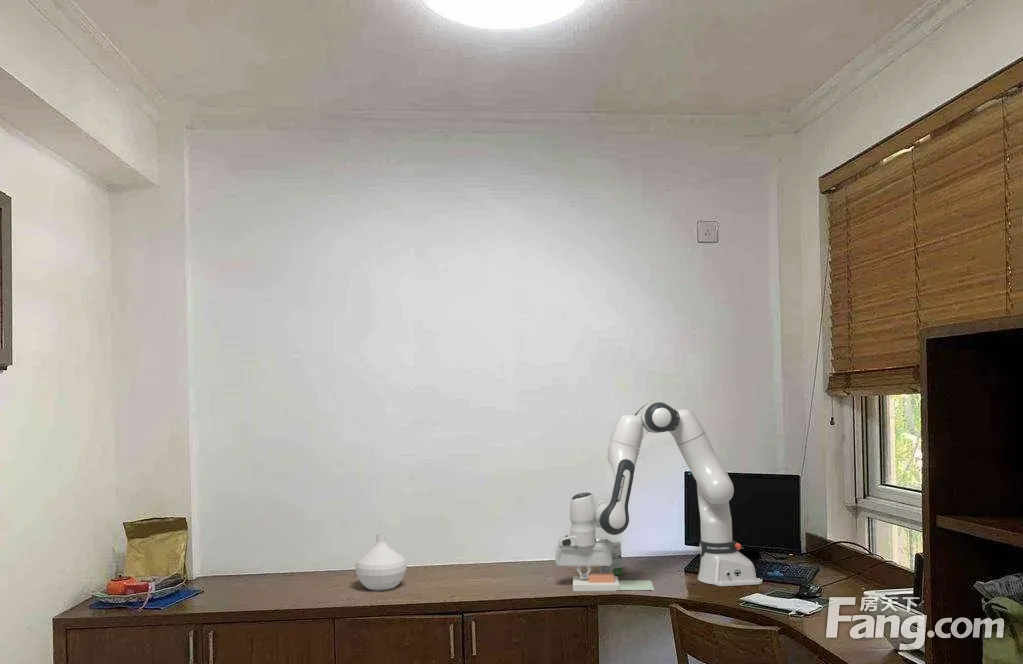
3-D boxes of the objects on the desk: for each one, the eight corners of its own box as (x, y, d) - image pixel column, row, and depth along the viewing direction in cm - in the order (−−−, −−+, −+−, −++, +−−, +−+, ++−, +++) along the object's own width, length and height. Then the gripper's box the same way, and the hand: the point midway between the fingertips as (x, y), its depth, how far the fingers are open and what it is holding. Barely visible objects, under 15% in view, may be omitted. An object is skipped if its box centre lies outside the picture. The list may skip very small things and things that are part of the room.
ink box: (622, 571, 328) (621, 540, 328) (622, 575, 323) (621, 542, 323) (598, 571, 329) (598, 540, 329) (598, 575, 324) (598, 543, 324)
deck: (617, 581, 313) (617, 576, 313) (619, 590, 300) (619, 585, 300) (573, 581, 314) (572, 576, 314) (573, 591, 301) (572, 585, 301)
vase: (380, 578, 325) (380, 527, 326) (417, 584, 315) (416, 531, 316) (344, 589, 310) (344, 535, 311) (382, 596, 300) (381, 540, 301)
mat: (651, 581, 312) (650, 580, 312) (654, 590, 299) (654, 589, 299) (617, 581, 313) (617, 580, 313) (619, 590, 300) (619, 589, 300)
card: (613, 578, 310) (613, 572, 310) (614, 582, 304) (614, 576, 304) (588, 578, 310) (588, 572, 310) (588, 582, 304) (588, 576, 304)
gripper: (612, 537, 311) (613, 576, 310) (555, 537, 312) (556, 576, 311) (612, 540, 304) (614, 580, 304) (554, 541, 306) (555, 581, 305)
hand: (584, 578), depth 308 cm, fingers closed
